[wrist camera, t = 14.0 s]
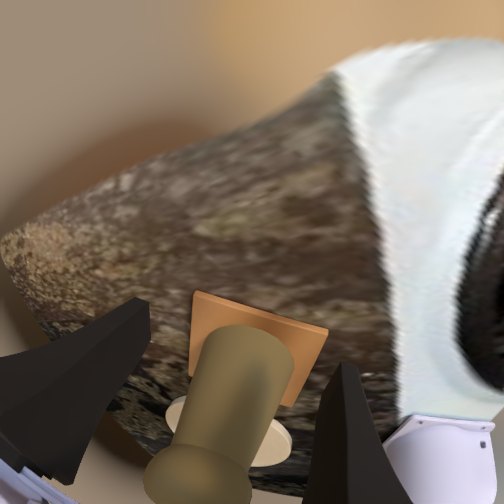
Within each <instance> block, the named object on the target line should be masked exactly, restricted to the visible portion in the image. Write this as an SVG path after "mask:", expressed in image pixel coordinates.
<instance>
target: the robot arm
mask: <svg viewBox="0 0 504 504" xmlns="http://www.w3.org/2000/svg"><path fill="white" fill-rule="evenodd" d="M150 340H151V332H150V314H149V302H147V301H145V300H142V299H139V298H137V297H134V298H133V299H131V300H129V301H127V302H125V303H124V304H122V305H120V306H119V307H117V308H115V309H114V310H112V311H110V312H109V313H107V314H105V315H103V316H102V317H100V318H98V319H96V320H95V321H93V322H91V323H89V324H88V325H86V326H84V327H82V328H80V329H78V330H76V331H74V332H72V333H70V334H68V335H66V336H64V337H62V338H60V339H57V340H55V341H53V342H50V343H48V344H45V345H42V346H40V347H37V348H34V349H30V350H28V351H24V352H21V353H17V354H13V355H9V356H5V357H0V504H49V503H48V501H49V502H50V503H52V504H79V503H77V502H76V501H74V500H72V499H71V498H69V497H68V496H66V495H65V494H63V493H62V492H60V491H59V490H57V489H55V488H54V487H53V486H51V485H50V484H49V483H47V482H46V481H44V480H43V479H41V478H42V476H43V475H44V476H45V477H47V478H48V479H50V480H51V479H52V478H54V479H56V480H57V481H59V482H60V483H62V484H63V485H71V484H73V482H74V479H75V476H76V474H77V471H78V468H79V465H80V463H81V460H82V458H83V455H84V453H85V451H86V448H87V446H88V444H89V442H90V440H91V437H92V435H93V433H94V431H95V429H96V427H97V425H98V423H99V421H100V419H101V418H102V416H103V414H104V412H105V410H106V408H107V407H108V405H109V404H110V402H111V400H112V399H113V398H114V396H115V395H116V393H117V392H118V391H119V389H120V388H121V386H122V385H123V383H124V382H125V381H126V379H127V378H128V376H129V375H130V374H131V372H132V371H133V369H134V368H135V367H136V365H137V364H138V362H139V361H140V359H141V357H142V355H143V354H144V352H145V350H146V348H147V346H148V344H149V342H150ZM494 428H495V424H494V423H492V422H477V421H465V420H455V419H446V418H437V417H430V416H422V415H412V416H410V417H409V418H408V419H407V420H406V421H405V422H404V423H403V424H402V425H401V426H400V427H399V428H398V429H397V430H396V431H395V432H394V433H393V434H392V435H391V436H390V437H389V438H388V439H387V440H386V441H384V442H383V443H381V440H380V438H379V435H378V432H377V430H376V427H375V424H374V421H373V418H372V415H371V412H370V409H369V406H368V403H367V399H366V396H365V392H364V389H363V385H362V382H361V378H360V374H359V370H358V367H357V366H356V365H352V364H348V363H343V362H340V364H339V366H338V367H337V369H336V371H335V373H334V374H333V376H332V378H331V380H330V381H329V383H328V385H327V386H326V388H325V390H324V391H323V393H322V396H321V400H320V405H319V409H318V414H317V418H316V426H315V435H314V443H313V451H312V459H311V467H310V473H309V478H308V482H307V486H306V490H305V493H304V497H303V500H302V504H493V503H494V500H495V496H496V491H497V480H496V471H495V463H494V456H493V450H492V444H491V438H490V432H491V431H492V430H493V429H494Z"/></svg>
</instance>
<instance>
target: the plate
mask: <svg viewBox="0 0 504 504" xmlns="http://www.w3.org/2000/svg"><path fill="white" fill-rule="evenodd" d="M186 396H187V395H186ZM186 396H182V397H179V398H177V399H175V400H174V401H172V402H171V404H170V405H169V407H168V409H167V411H166V421H167V423H168V425H169V427H170V428H171V430H172V431H173V432H174V433H175V430H176V427H177V424H178V421H179V417H180V414H181V411H182V408H183V405H184V402H185V399H186ZM291 448H292V439H291V436H290V434H289V433H288V431H287V430H286V429H285V428H284V427H283V426H282V425H281V424H280V423H279V422H278V421H276V420H275V419H273V420H272V422H271V424H270V426H269V429H268V431H267V433H266V435H265V437H264V439H263V442H262V444H261V446H260V448H259V450H258V452H257V454H256V456H255V458H254V460H253V462H252V464H251V466H269V465H274V464H278V463H280V462H282V461H284V460H285V459H286V458H287V457H288V456H289V455H290V452H291Z"/></svg>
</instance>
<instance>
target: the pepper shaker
mask: <svg viewBox="0 0 504 504" xmlns="http://www.w3.org/2000/svg"><path fill="white" fill-rule="evenodd" d="M294 369H295V368H294V358H293V356H292V355H291V353H290V351H289V349H288V348H287V347H286V346H285V345H284V344H283V343H282V342H281V341H280V340H279V339H278V338H276V337H275V336H273V335H271V334H269V333H267V332H266V331H264V330H261V329H257V328H254V327H251V326H245V325H228V326H223V327H219V328H217V329H216V330H214V331H212V332H211V333H209V335H208V336H207V338H206V339H205V341H204V344H203V347H202V350H201V353H200V356H199V359H198V362H197V365H196V368H195V371H194V374H193V377H192V380H191V383H190V386H189V390H188V393H187V396H186V399H185V402H184V405H183V408H182V411H181V414H180V417H179V421H178V424H177V427H176V430H175V433H174V436H173V439H172V443H171V446H169V447H167V448H165V449H162V450H161V451H160V452H159V453H157V455H156V456H155V457H154V458H153V459H152V460H151V461H150V462H149V464H148V466H147V468H146V470H145V473H144V478H143V483H144V489H145V492H146V494H147V495H148V496H149V498H150V499H151V500H152V501H153V502H155V503H156V504H250V501H251V497H252V485H251V482H250V480H249V478H248V475H247V473H248V471H249V469H250V467H251V464H252V462H253V460H254V458H255V456H256V454H257V452H258V450H259V448H260V446H261V444H262V442H263V439H264V437H265V435H266V433H267V431H268V429H269V426H270V424H271V422H272V420H273V418H274V415H275V413H276V411H277V409H278V406H279V404H280V402H281V399H282V397H283V395H284V392H285V390H286V388H287V385H288V383H289V381H290V378H291V376H292V373H293V371H294Z"/></svg>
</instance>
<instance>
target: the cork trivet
mask: <svg viewBox="0 0 504 504" xmlns="http://www.w3.org/2000/svg"><path fill="white" fill-rule="evenodd" d="M228 325H245V326H251V327H254V328H257V329H261V330H264V331H266V332H267V333H269V334H271V335H273V336H275V337H276V338H278V339H279V340H280V341H281V342H282V343H283V344H284V345H285V346H286V347H287V348H288V349H289V351H290V353H291V355H292V356H293V358H294V368H295V369H294V371H293V373H292V376H291V378H290V381H289V383H288V385H287V388H286V390H285V392H284V395H283V397H282V399H281V402H280V405H283V406H287V407H292V406H293V404H294V402H295V400H296V398H297V397H298V395H299V393H300V391H301V389H302V387H303V385H304V383H305V381H306V379H307V377H308V375H309V373H310V371H311V369H312V367H313V365H314V363H315V361H316V359H317V357H318V355H319V353H320V351H321V349H322V347H323V344H324V342H325V340H326V338H327V336H328V329H325V328H321V327H318V326H314V325H311V324H307V323H303V322H300V321H296V320H293V319H289V318H286V317H282V316H279V315H276V314H272V313H269V312H266V311H262V310H259V309H256V308H252V307H249V306H246V305H242V304H239V303H236V302H233V301H230V300H226V299H223V298H220V297H217V296H214V295H211V294H208V293H205V292H201V291H198V290H196V291H195V293H194V294H193V306H192V319H191V334H190V350H189V368H188V375H189V376H192V377H193V374H194V371H195V368H196V365H197V362H198V359H199V356H200V353H201V350H202V347H203V344H204V341H205V339H206V338H207V336H208V335H209V333H211V332H212V331H214V330H216V329H217V328H219V327H223V326H228Z"/></svg>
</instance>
